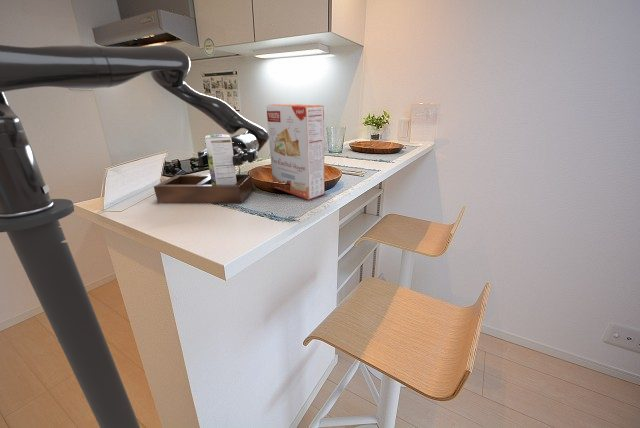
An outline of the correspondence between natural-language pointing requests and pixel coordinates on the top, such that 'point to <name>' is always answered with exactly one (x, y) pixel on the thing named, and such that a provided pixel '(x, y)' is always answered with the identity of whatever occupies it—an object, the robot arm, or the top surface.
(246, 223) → the top surface
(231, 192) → the wooden serving tray
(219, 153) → the syrup box
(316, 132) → the cracker box
